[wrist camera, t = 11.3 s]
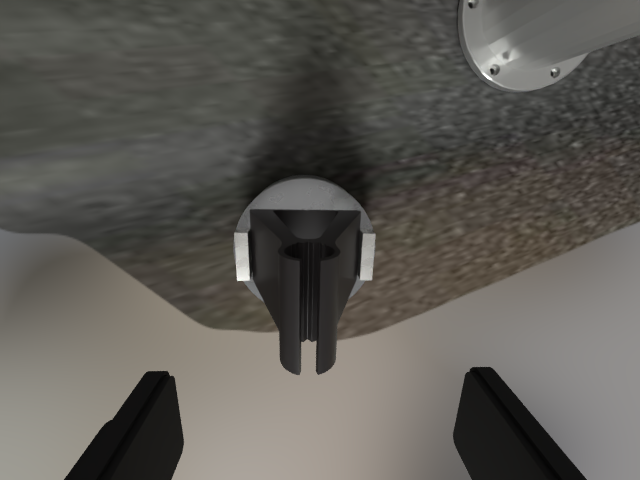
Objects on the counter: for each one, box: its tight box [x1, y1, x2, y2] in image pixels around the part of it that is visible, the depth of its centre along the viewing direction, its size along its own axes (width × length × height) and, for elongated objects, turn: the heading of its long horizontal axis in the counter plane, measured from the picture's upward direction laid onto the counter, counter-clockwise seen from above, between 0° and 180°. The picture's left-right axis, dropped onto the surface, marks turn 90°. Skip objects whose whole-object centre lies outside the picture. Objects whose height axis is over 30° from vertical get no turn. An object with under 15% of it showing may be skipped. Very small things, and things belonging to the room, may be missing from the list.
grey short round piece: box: [234, 175, 375, 302], centre depth 27 cm, size 12×12×7 cm
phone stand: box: [250, 209, 361, 375], centre depth 20 cm, size 9×6×12 cm, turn 88°
